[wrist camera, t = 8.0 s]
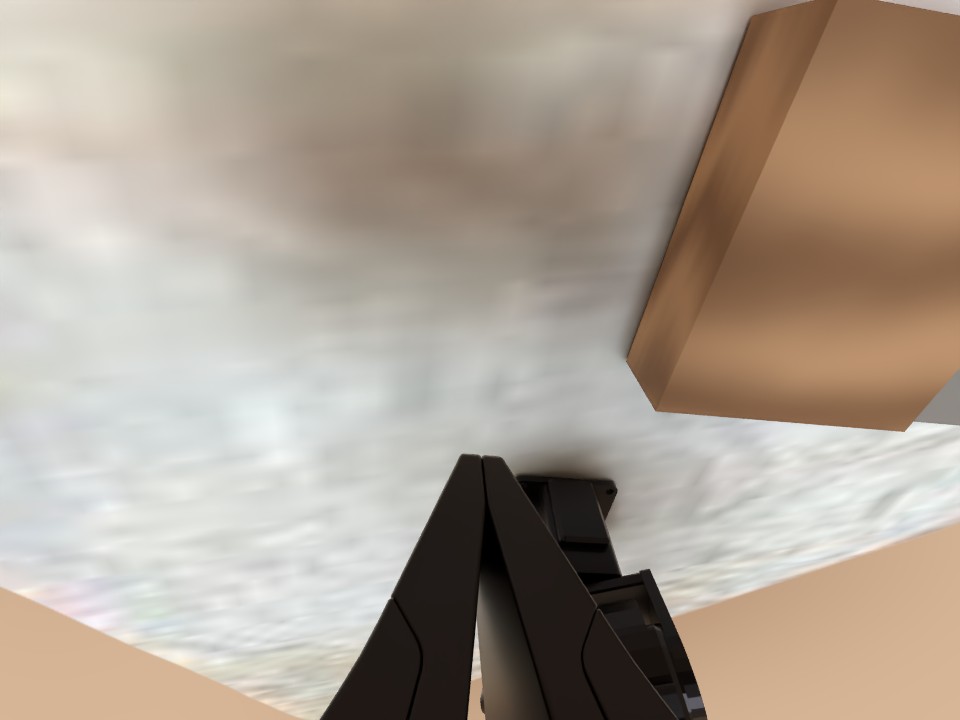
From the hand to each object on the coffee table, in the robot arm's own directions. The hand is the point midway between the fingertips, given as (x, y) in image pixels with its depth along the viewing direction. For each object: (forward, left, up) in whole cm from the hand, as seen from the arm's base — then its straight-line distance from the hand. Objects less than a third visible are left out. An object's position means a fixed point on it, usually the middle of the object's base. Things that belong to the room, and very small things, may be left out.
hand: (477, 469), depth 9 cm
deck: (+3, -15, -12) cm, 19 cm away
